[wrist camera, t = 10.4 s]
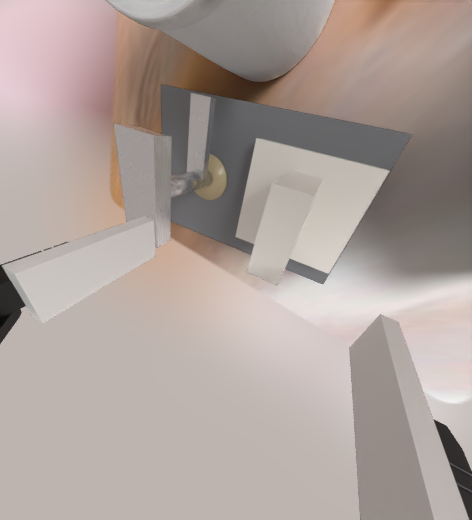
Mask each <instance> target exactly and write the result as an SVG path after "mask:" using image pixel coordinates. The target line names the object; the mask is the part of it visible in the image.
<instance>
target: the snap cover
mask: <svg viewBox="0 0 472 520" xmlns="http://www.w3.org/2000/svg"><path fill="white" fill-rule="evenodd" d="M388 173H389V171H388V170H386V169H383V168H379V167H375V166H371V165H367V164H363V163H359V162H355V161H351V160H346V159H342V158H338V157H334V156H330V155H326V154H322V153H318V152H314V151H310V150H306V149H302V148H298V147H294V146H290V145H286V144H282V143H277V142H273V141H269V140H265V139H260V138H256V142H255V147H254V152H253V156H252V161H251V166H250V170H249V175H248V180H247V184H246V189H245V194H244V199H243V203H242V208H241V213H240V217H239V222H238V227H237V231H236V236H235V237H237V238H240V239H242V240H245V241H247V242H250V243H252V244H254V247H253V251H252V254H251V258H250V262H249V265H248V269H247V273H249V274H252V275H254V276H256V277H259V278H261V279H263V280H265V281H268V282H270V283H272V284H274V285H278V283H279V281H280V278H281V276H282V274H283V272H284V270H285V267H286V265H287V263H288V261H289V259H292V260H295V261H297V262H300V263H302V264H305V265H307V266H310V267H312V268H315V269H317V270H320V271H323V272H325V273H328V274H329V272H330V271H331V269H332V267H333V266H334V264H335V262H336V261H337V259H338V257H339V256H340V254H341V252H342V251H343V249H344V247H345V245H346V244H347V242H348V240H349V239H350V237H351V235H352V234H353V232H354V230H355V229H356V227H357V225H358V224H359V222H360V220H361V219H362V217H363V215H364V213H365V212H366V210H367V208H368V207H369V205H370V203H371V202H372V200H373V198H374V197H375V195H376V193H377V192H378V190H379V188H380V186H381V185H382V183H383V181H384V180H385V178H386V176H387V175H388Z"/></svg>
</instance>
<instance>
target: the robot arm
mask: <svg viewBox="0 0 472 520" xmlns="http://www.w3.org/2000/svg"><path fill="white" fill-rule="evenodd" d="M155 256H156V254H155V231H154V220H153V219H150V218H148V217H146V216H143V217H140V218H137V219H134V220H131V221H129V222H126V223H123V224H120V225H117V226H114V227H111V228H108V229H106V230H103V231H100V232H97V233H94V234H91V235H88V236H85V237H83V238H80V239H77V240H74V241H71V242H65V243H63V244H60V245H57V246H54V247H53V248H48V249H45V250H44V251H39V252H37V253H33V254H31V255H28V256H25V257H22V258H19V259H16V260H13V261H11V262H8V263H4V264H1V265H0V343H1V342H2V341H3V339H4V338H5V337H6V335H7V334H8V332H9V331H10V330H11V328H12V327H13V325H14V324H15V323H16V321H17V320H18V318H19V317H20V315H21V310H20V308H22V307H24V306H26V307H27V309H28V311H29V312H30V314H31V315H32V316H34V317H35V318H36V319H37V320H39V321H40V322H42V323H44V322H45V321H47V320H49V319H50V318H52V317H54V316H55V315H57V314H59V313H61V312H62V311H64V310H66V309H67V308H69V307H71V306H72V305H74V304H76V303H77V302H79V301H81V300H82V299H84V298H86V297H88V296H89V295H91V294H93V293H94V292H96V291H98V290H99V289H101V288H102V287H104V286H106V285H108V284H110V283H111V282H113V281H115V280H116V279H118V278H120V277H121V276H123V275H125V274H127V273H128V272H130V271H132V270H133V269H135V268H136V267H138V266H140V265H142V264H143V263H145V262H147V261H148V260H150V259H152V258H154V257H155ZM349 350H350V366H351V382H352V397H353V413H354V430H355V445H356V460H357V461H356V462H357V476H358V494H359V510H360V520H472V471H471V469H470V467H469V464H468V462H467V459H466V457H465V454H464V452H463V450H462V448H461V447H460V445H459V444H458V442H457V441H456V439H455V438H454V436H453V435H452V433H451V432H450V430H449V429H448V427H447V426H446V425H444V424H442V423H440V422H438V421H436V420H434V419H433V417H432V414H431V412H430V409H429V406H428V403H427V400H426V397H425V395H424V392H423V389H422V386H421V383H420V381H419V378H418V375H417V372H416V369H415V367H414V364H413V361H412V358H411V355H410V352H409V350H408V347H407V344H406V341H405V338H404V336H403V333H402V330H401V327H400V324H399V322H397V321H395V320H393V319H390V318H388V317H385V316H383V315H381V314H380V315H379V316H378V317H377V319H376V320H375V321H374V322H373V323H372V324H371V325H370V326H369V327H368V328H367V329H366V331H365V332H364V333H363V334H362V335H361V336H360V337H359V338H358V339H357V340H356V341H355V342H354V344H353V345H352V346H351V347H350V348H349Z"/></svg>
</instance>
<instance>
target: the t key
mask: <svg viewBox="0 0 472 520" xmlns="http://www.w3.org/2000/svg"><path fill="white" fill-rule="evenodd" d="M215 102H216V99H214V98H211V97H207V96H203V95H198V94H194V93H191V101H190V119H189V138H188V156H187V172H186V173H179V174H173V175H171V136H168V135H165V134H161V133H158V132H154V131H151V130H148V129H144V128H141V127H138V126H134V125H124V124H115V123H114V129H115V137H116V144H117V152H118V160H119V168H120V176H121V183H122V191H123V199H124V207H125V214H126V222H129V221H131V220H134V219H137V218H140V217H143V216H146V217H148V218H150V219H153V220H154V231H155V247H157V248H158V247H159V246H161V245H163V244H165V243H167V242H168V241H170V223H171V197H175V196H178V195H181V194H185V193H188V192H191V191H195V190H198V189H202V188H205V187H208V186H210V185H211V184H212V182H213V176H212V174H211V172H210V171H209V170H208V164H209V155H210V146H211V137H212V129H213V120H214V111H215Z"/></svg>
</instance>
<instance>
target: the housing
mask: <svg viewBox="0 0 472 520" xmlns="http://www.w3.org/2000/svg"><path fill="white" fill-rule="evenodd" d="M191 93H194V94H198V95H203V96H207V97H211V98H214V99H216V102H215V111H214V120H213V129H212V137H211V146H210V155H209V164H208V170H209V171H210V172H211V174H212V176H213V182H212V184H211V185H210V186H208V187H205V188H202V189H198V190H195V191H191V192H188V193H185V194H181V195H178V196H175V197H171V222H173V223H176V224H178V225H181V226H183V227H185V228H188V229H190V230H193V231H195V232H198V233H200V234H202V235H205V236H207V237H210V238H212V239H214V240H217V241H219V242H222V243H224V244H226V245H229V246H231V247H234V248H236V249H239V250H241V251H243V252H246V253H248V254H252V251H253V247H254V244H252V243H250V242H247V241H245V240H242V239H240V238H237V237H235V236H236V231H237V227H238V222H239V217H240V213H241V208H242V203H243V199H244V194H245V189H246V184H247V180H248V175H249V170H250V166H251V161H252V156H253V152H254V147H255V142H256V138H260V139H265V140H269V141H273V142H277V143H282V144H286V145H290V146H294V147H298V148H302V149H306V150H310V151H314V152H318V153H322V154H326V155H330V156H334V157H338V158H342V159H346V160H351V161H355V162H359V163H363V164H367V165H371V166H375V167H379V168H383V169H386V170H388V171H389V173H390V172H391V170H392V168H393V166H394V165H395V163H396V161H397V160H398V158H399V156H400V155H401V153H402V151H403V150H404V148H405V146H406V145H407V143H408V141H409V140H410V138H411V136H412V135H413V134H409V133H404V132H399V131H394V130H389V129H383V128H378V127H373V126H368V125H363V124H358V123H353V122H348V121H343V120H338V119H333V118H328V117H323V116H318V115H313V114H308V113H303V112H298V111H293V110H288V109H283V108H278V107H273V106H268V105H263V104H258V103H253V102H248V101H242V100H237V99H232V98H227V97H222V96H217V95H212V94H207V93H202V92H197V91H192V90H187V89H182V88H177V87H172V86H167V85H162V84H161V117H162V134H165V135H168V136H171V175H173V174H179V173H186V172H187V156H188V138H189V119H190V101H191ZM389 173H388V175H389ZM388 175H387V176H386V178H387V177H388ZM386 178H385V180H386ZM385 180H384V181H383V183H384V182H385ZM383 183H382V185H383ZM382 185H381V186H380V188H381V187H382ZM380 188H379V190H380ZM379 190H378V192H379ZM378 192H377V193H378ZM377 193H376V195H377ZM376 195H375V197H376ZM375 197H374V198H375ZM374 198H373V200H374ZM373 200H372V202H373ZM372 202H371V203H372ZM371 203H370V205H371ZM370 205H369V207H370ZM369 207H368V208H369ZM368 208H367V210H368ZM367 210H366V212H367ZM366 212H365V213H366ZM365 213H364V215H365ZM364 215H363V217H364ZM363 217H362V218H363ZM361 220H362V219H361ZM361 220H360V222H361ZM360 222H359V224H360ZM359 224H358V225H359ZM358 225H357V227H358ZM357 227H356V229H357ZM356 229H355V230H356ZM355 230H354V232H355ZM354 232H353V234H354ZM353 234H352V235H353ZM352 235H351V237H352ZM351 237H350V239H351ZM350 239H349V240H350ZM349 240H348V242H349ZM348 242H347V244H348ZM347 244H346V245H347ZM346 245H345V247H346ZM345 247H344V249H345ZM344 249H343V250H344ZM342 252H343V251H342ZM342 252H341V254H342ZM341 254H340V255H341ZM339 257H340V256H339ZM339 257H338V259H339ZM338 259H337V260H338ZM336 262H337V261H336ZM336 262H335V264H336ZM335 264H334V265H335ZM333 267H334V266H333ZM333 267H332V269H333ZM285 269H287V270H289V271H292V272H294V273H297V274H299V275H301V276H304V277H306V278H309V279H311V280H313V281H316V282H318V283H321V284H324V282H325V281H326V279H327V277H328V275H329V274H330V272H331V271H330V272H329V274H328V273H325V272H323V271H320V270H317V269H315V268H312V267H310V266H307V265H305V264H302V263H300V262H297V261H295V260H292V259H289V261H288V263H287V265H286V267H285ZM332 269H331V270H332Z"/></svg>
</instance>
